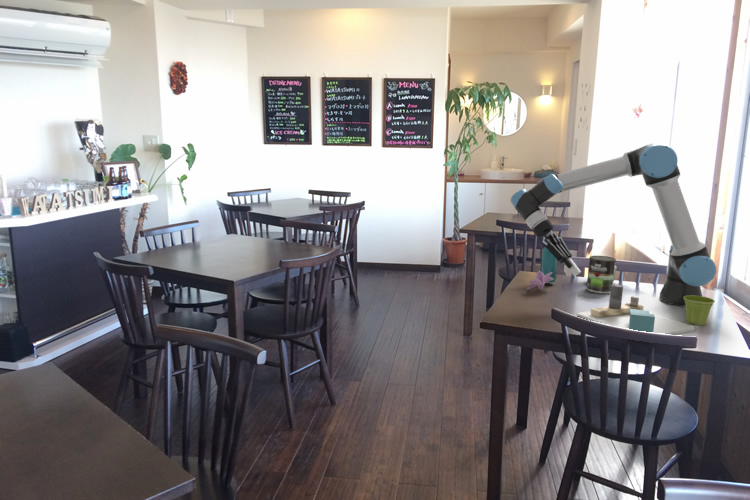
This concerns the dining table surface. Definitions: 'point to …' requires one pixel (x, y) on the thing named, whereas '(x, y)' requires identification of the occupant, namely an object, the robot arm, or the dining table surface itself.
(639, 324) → the block
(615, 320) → the base board
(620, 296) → the link
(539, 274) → the lily
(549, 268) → the beverage bottle
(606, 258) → the coffee can
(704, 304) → the plant pot
